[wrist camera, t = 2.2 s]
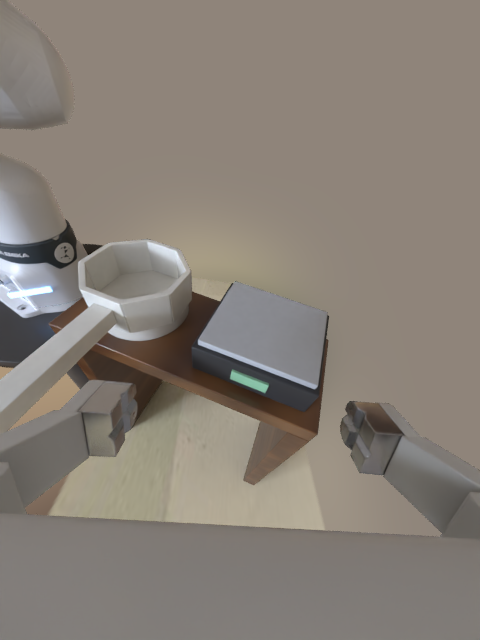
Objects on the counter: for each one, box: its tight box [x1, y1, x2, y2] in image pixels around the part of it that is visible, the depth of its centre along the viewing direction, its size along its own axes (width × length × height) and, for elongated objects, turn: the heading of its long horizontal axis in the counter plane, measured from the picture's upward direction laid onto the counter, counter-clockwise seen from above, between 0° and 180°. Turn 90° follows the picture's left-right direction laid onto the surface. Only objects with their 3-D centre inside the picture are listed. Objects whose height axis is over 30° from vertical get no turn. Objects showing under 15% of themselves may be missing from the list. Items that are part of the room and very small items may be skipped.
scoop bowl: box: [0, 239, 192, 434], centre depth 14 cm, size 7×19×4 cm, turn 160°
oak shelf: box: [49, 292, 328, 485], centre depth 26 cm, size 20×8×22 cm, turn 70°
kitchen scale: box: [192, 281, 329, 412], centre depth 17 cm, size 8×7×3 cm
